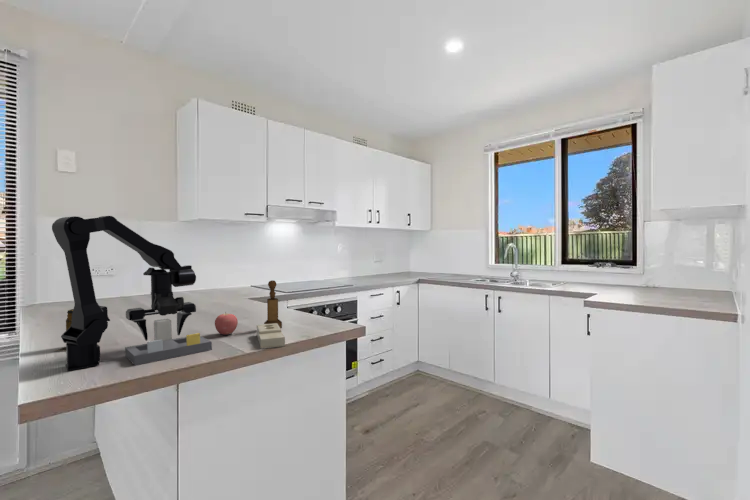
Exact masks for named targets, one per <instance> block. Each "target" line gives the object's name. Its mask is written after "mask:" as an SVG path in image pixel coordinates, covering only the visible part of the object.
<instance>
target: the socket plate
mask: <svg viewBox="0 0 750 500" xmlns="http://www.w3.org/2000/svg"><path fill="white" fill-rule="evenodd" d="M212 343H213V342H212V341H211V340H210V339H207V338H206V337H203V336H201V333H200V332H195V333H192V334H191V333H190V334H186V336H184V337H177V338H172V339H170V340H165V341H163V340H162V339H161V340H155V341H154V340H151V341H150V340H148V341H146V343H142V344H137V345H132V346H125V347H124V355H125V358H127V360H129V362H131V363H132V364H133V365H134V366H139V365H144V364H149V363H154V362H159V361H163V360H168V359H174V358H179V357H183V356H187V355H192V354H193V355H194V354H197V353H203V352H207V351H212V350H213V344H212Z"/></svg>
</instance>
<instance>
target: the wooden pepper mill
mask: <svg viewBox="0 0 750 500" xmlns="http://www.w3.org/2000/svg"><path fill="white" fill-rule="evenodd" d="M267 286H268V287H269V289H270V290H269V297H270V298H269V297H268V298H267V302H266V303H267V319H266V320H265V321H264V323H263V324H272V323H277V324H278V325H279V327H280V328H281V329H282V328H283V322H282V321H281V320H280V319H279V299H278V298H276V294H277V292H275V289H276V288H277V287H276V286H277V282H276V281H275V280H269V281H268V283H267Z"/></svg>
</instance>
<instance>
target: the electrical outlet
mask: <svg viewBox="0 0 750 500" xmlns="http://www.w3.org/2000/svg"><path fill="white" fill-rule="evenodd" d="M256 337H257V341H258V344H259V347H260V349H270V348H271V349H272V348H278V347H279V348H280V347H285V346H286V337H285V335H284V333H283V332H282V328H280V327H279V325H278V324H277V323H272V324H264V323H261V324H257V325H256Z"/></svg>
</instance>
